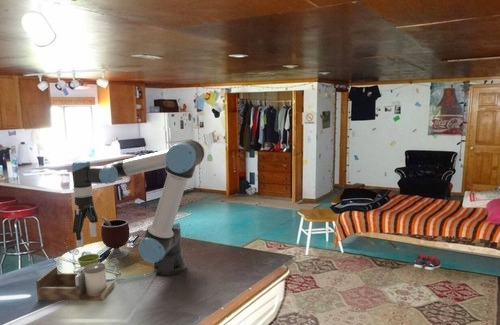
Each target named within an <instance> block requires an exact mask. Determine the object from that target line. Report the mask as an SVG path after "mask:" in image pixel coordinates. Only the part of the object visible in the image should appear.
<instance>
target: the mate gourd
mask: <svg viewBox="0 0 500 325" xmlns="http://www.w3.org/2000/svg"><path fill="white" fill-rule="evenodd" d="M99 218H100V219H102V221H103V222H102V223H101V227H100V228H101V229H100V234H101V235H100V236H101V241H102V244H103V245H105V246H106V248H110V249H112V251H111V250H110V251H111V252H110V254H109V257H108V258H118V259H123V258H125V257H127V256H128V255H129V254H130V251H129V250H128V249H124V248H122V247H124V246H125V245H127V243H128V242H129V238H130V228H129V222H128V220H127V219H117V218H116V219H110V220H109V219H108V218H106V217H104V216H102V215H101V216H100V217H99ZM108 258H107V259H108Z"/></svg>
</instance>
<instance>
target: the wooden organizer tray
mask: <svg viewBox="0 0 500 325" xmlns="http://www.w3.org/2000/svg"><path fill="white" fill-rule="evenodd" d="M78 274H79V273H74V272H70V273H69V272H58V266H54V267H52V268H51V269H50V270H48V271H47V272H45V273H44V274H43V275H41V276H40V277H39V278H38V279H37V280H36V281H35V283H36V293H37V294H36V296H37V302H39V301H91V302H92V301H94V302H95V301H97V302H101V301H103V300H104V299H105V298H106V296H107V295H108V294H109V293H110V291H111V290H113V288H114V287H115V285H116V284H115V281H112V280H111V281H110V282H109V284H106V286H107V287H106V288H105V290H104V291H103V292H102V293H101V294H100V296H95V297H91V296H87V295H86V292H85V293H84V294H83V295H82V296H81V295H80V287H76V282H75V276H76V275H78Z"/></svg>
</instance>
